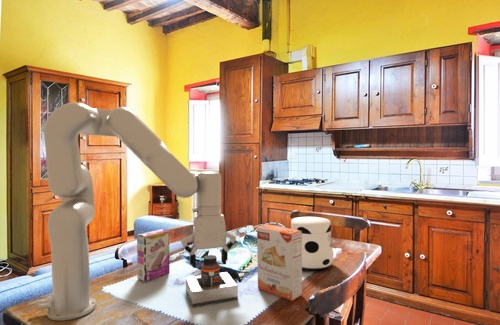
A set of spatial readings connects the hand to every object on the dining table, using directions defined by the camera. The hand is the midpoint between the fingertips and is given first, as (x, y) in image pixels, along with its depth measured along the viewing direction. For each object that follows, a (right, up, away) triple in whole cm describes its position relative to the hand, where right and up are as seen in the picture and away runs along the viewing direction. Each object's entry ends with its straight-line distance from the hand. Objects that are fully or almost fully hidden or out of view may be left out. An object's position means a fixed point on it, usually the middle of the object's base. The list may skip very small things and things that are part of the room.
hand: (208, 264), depth 104 cm
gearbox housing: (+1, -10, 0) cm, 10 cm away
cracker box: (+22, -10, +2) cm, 25 cm away
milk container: (+37, -9, +26) cm, 46 cm away
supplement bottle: (+1, -9, 0) cm, 9 cm away
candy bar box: (-22, -10, +17) cm, 29 cm away
